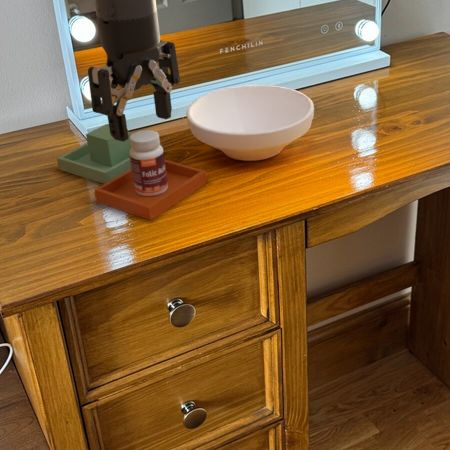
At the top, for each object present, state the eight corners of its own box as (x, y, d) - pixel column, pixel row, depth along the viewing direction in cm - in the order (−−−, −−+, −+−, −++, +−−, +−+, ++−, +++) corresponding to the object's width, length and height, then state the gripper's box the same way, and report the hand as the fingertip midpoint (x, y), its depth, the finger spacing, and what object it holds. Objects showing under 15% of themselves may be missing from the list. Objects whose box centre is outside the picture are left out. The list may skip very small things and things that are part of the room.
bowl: (207, 188, 110) (202, 143, 107) (179, 136, 126) (174, 95, 122) (333, 164, 116) (333, 120, 112) (291, 117, 131) (289, 77, 128)
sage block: (111, 167, 116) (107, 140, 114) (90, 160, 118) (85, 134, 116) (132, 155, 119) (128, 129, 117) (111, 149, 121) (106, 123, 119)
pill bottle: (146, 200, 107) (138, 146, 102) (128, 189, 110) (119, 135, 105) (175, 189, 109) (168, 135, 105) (156, 178, 112) (149, 125, 108)
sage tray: (107, 185, 112) (105, 173, 111) (59, 169, 117) (56, 157, 116) (162, 153, 121) (161, 141, 120) (115, 140, 126) (113, 128, 125)
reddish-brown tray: (150, 220, 103) (148, 207, 102) (96, 202, 108) (94, 189, 107) (207, 183, 112) (205, 170, 111) (154, 167, 117) (152, 155, 116)
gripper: (143, -7, 103) (157, 106, 111) (62, 19, 93) (84, 141, 101) (186, -1, 99) (197, 116, 108) (107, 27, 89) (126, 153, 97)
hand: (143, 128), depth 104 cm, fingers open, 8 cm apart
